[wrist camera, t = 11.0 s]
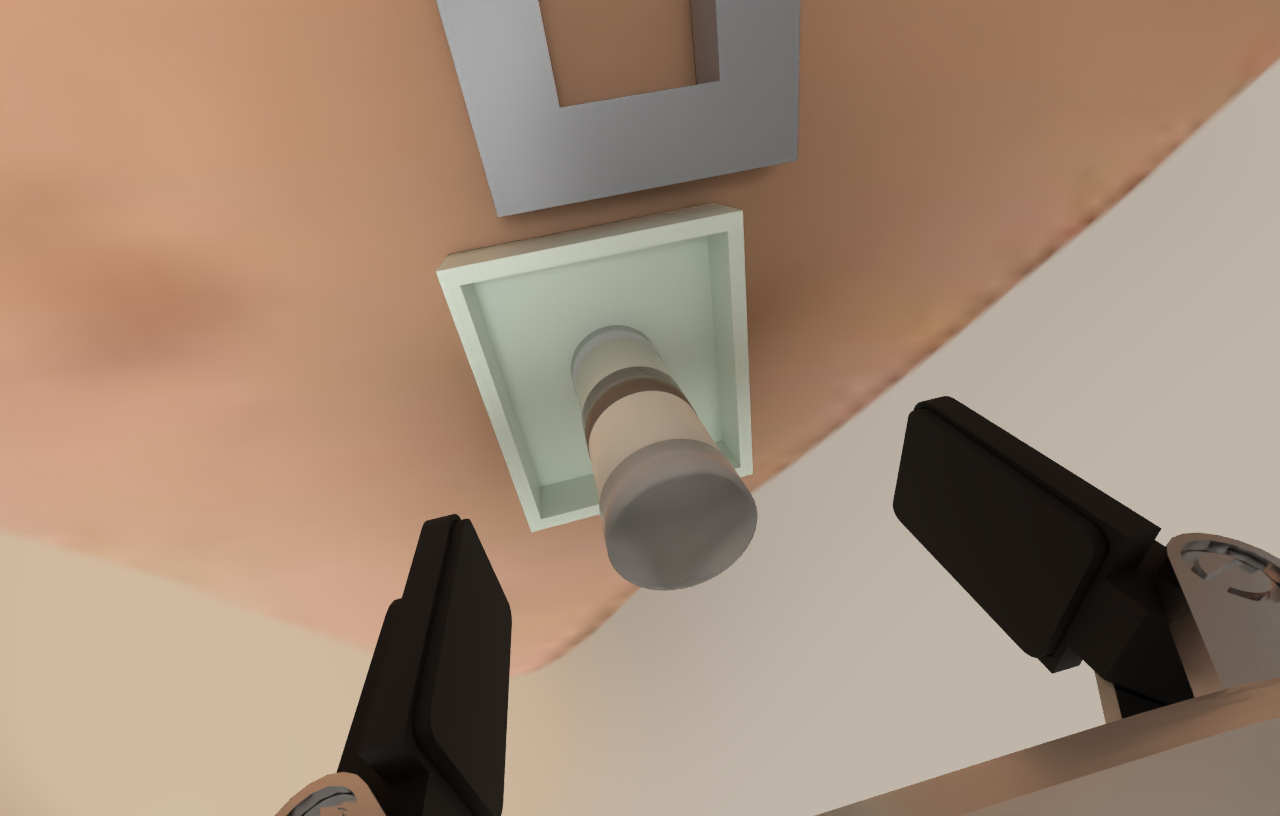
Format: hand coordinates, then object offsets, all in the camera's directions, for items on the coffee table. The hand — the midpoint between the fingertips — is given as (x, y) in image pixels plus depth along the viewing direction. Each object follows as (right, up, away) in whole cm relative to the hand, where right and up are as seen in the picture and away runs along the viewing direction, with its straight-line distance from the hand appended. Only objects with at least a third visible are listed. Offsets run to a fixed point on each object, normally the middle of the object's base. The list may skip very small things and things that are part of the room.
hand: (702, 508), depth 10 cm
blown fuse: (-2, +4, +8) cm, 9 cm away
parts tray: (-2, +4, +8) cm, 9 cm away
